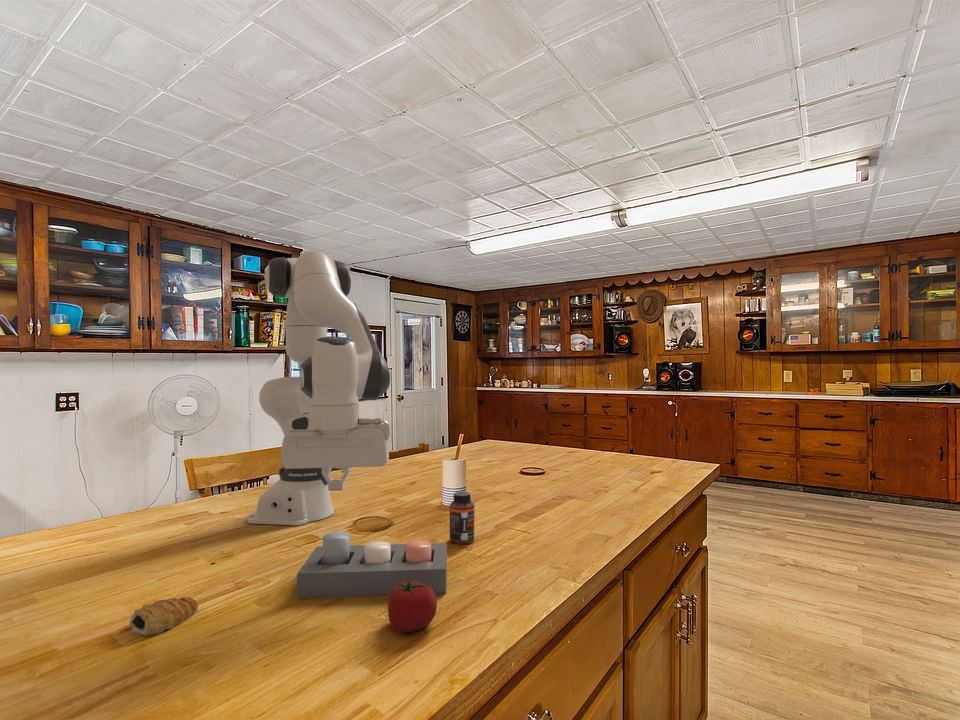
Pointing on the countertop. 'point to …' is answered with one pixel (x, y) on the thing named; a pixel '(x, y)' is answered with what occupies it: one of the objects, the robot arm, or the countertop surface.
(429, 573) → the egg tray
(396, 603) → the tomato
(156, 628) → the pastry
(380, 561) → the ivory button
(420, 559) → the pink rounded block
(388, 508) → the countertop surface
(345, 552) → the slate button
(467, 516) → the supplement bottle
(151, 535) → the countertop surface
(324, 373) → the robot arm
